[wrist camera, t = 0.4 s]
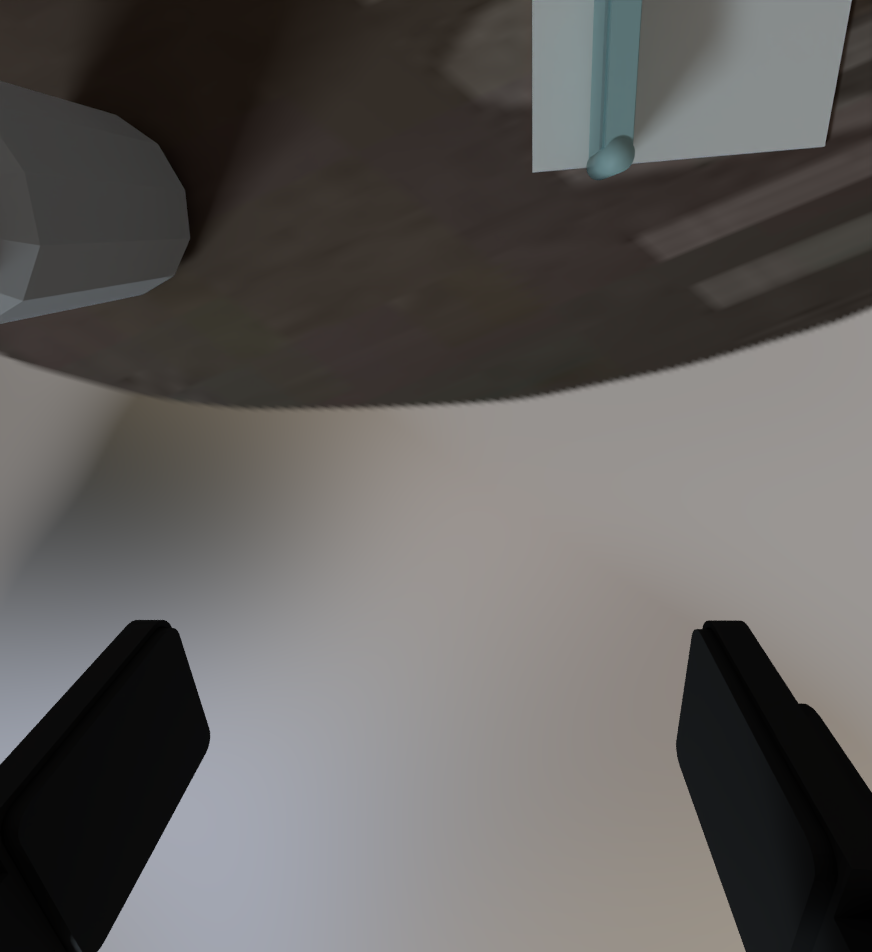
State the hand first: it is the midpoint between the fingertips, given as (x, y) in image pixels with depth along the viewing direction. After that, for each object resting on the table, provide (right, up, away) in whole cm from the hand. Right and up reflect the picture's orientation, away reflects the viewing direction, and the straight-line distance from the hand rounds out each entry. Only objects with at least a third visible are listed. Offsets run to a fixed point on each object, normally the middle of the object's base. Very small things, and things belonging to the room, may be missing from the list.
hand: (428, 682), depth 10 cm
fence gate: (+9, +24, +18) cm, 31 cm away
